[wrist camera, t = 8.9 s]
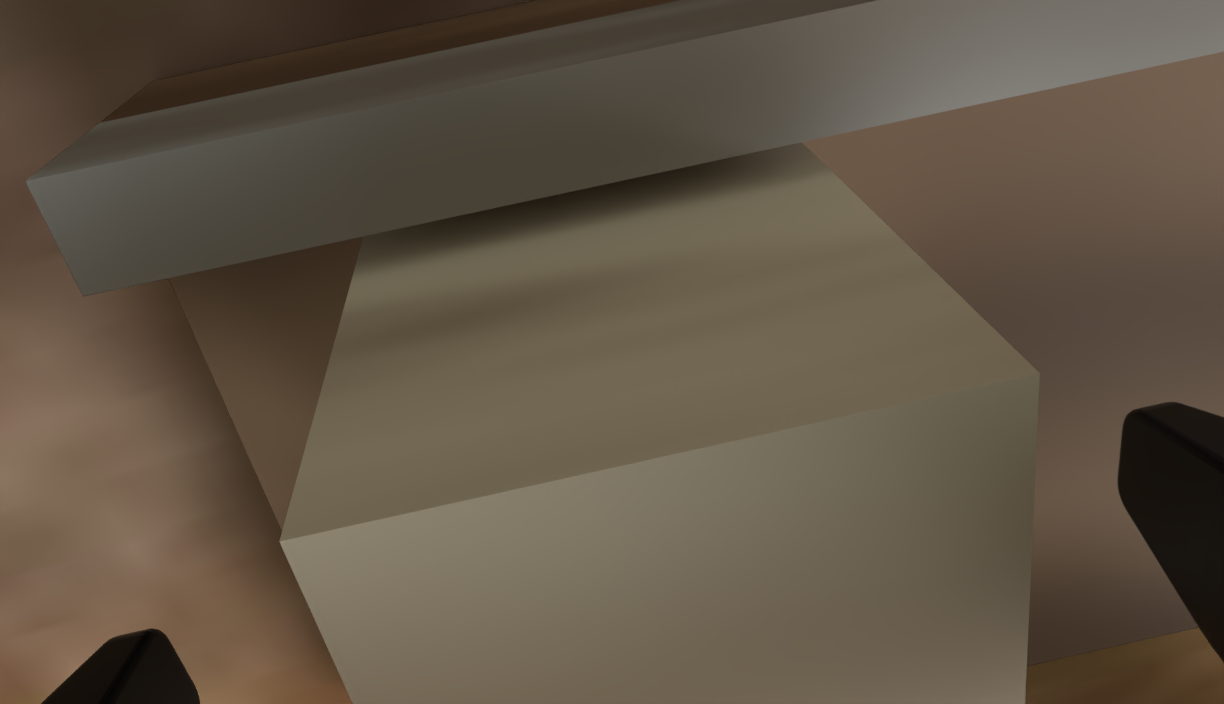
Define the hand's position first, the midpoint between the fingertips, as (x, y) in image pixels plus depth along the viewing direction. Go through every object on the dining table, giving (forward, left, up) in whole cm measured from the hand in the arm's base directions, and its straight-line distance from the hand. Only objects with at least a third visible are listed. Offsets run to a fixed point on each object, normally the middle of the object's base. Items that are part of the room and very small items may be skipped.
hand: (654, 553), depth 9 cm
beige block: (-1, 0, -4) cm, 4 cm away
